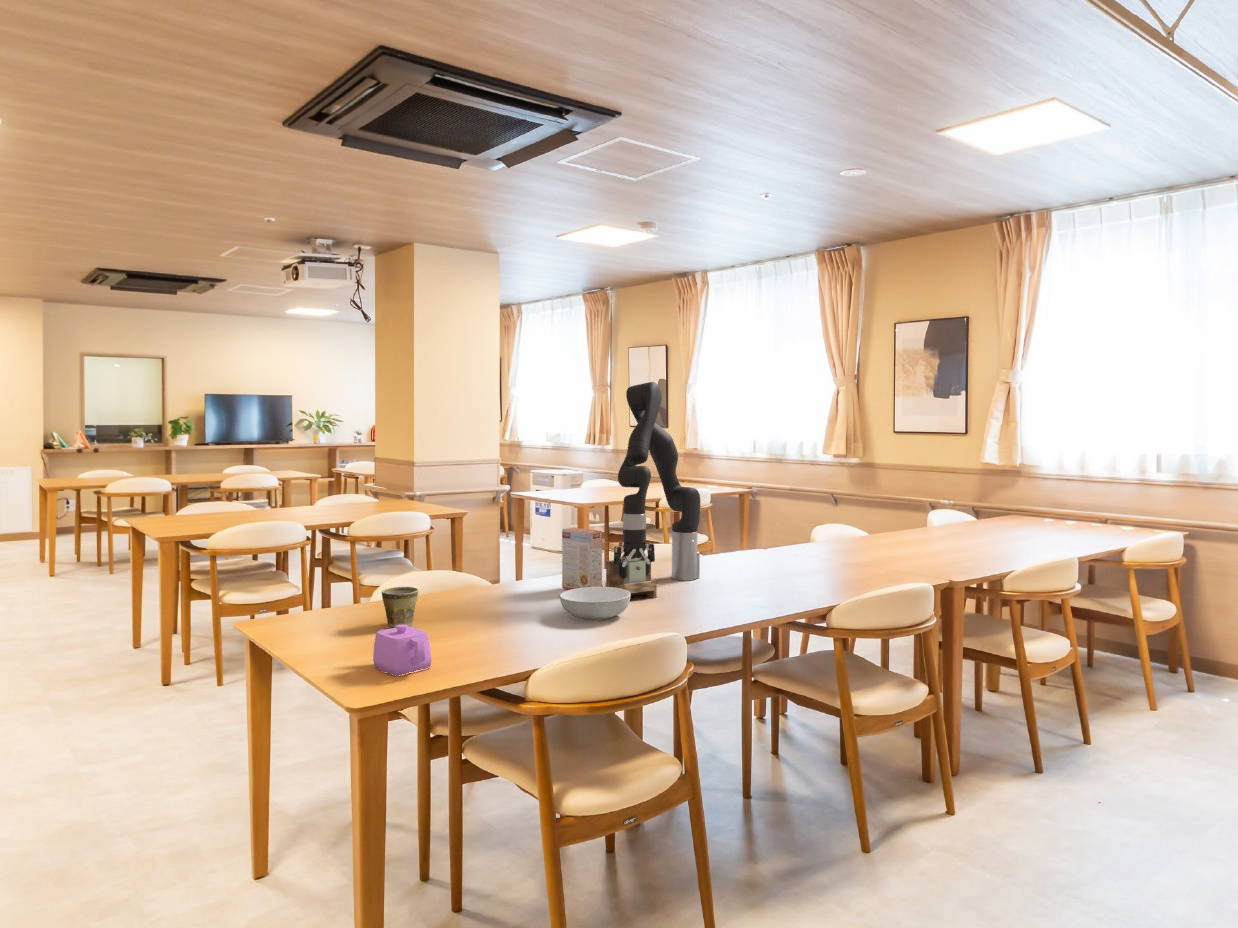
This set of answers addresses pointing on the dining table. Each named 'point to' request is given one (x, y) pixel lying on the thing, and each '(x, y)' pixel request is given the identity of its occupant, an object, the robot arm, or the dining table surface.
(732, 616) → the dining table surface
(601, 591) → the serving bowl
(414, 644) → the teapot
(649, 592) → the wooden stand
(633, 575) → the cabinet block
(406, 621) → the ceramic cup
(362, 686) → the dining table surface
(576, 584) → the cracker box
